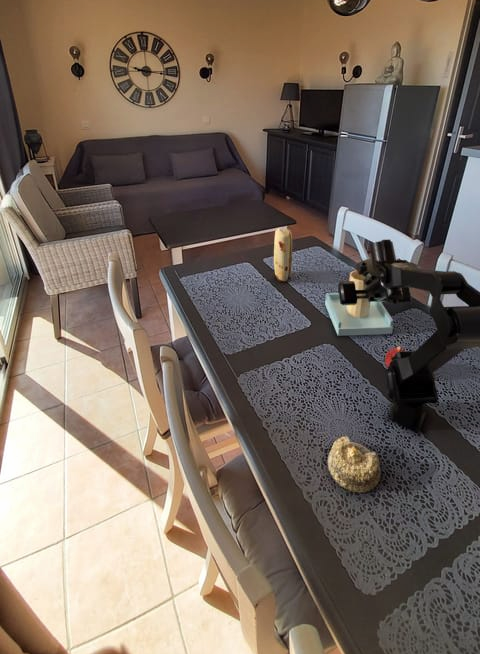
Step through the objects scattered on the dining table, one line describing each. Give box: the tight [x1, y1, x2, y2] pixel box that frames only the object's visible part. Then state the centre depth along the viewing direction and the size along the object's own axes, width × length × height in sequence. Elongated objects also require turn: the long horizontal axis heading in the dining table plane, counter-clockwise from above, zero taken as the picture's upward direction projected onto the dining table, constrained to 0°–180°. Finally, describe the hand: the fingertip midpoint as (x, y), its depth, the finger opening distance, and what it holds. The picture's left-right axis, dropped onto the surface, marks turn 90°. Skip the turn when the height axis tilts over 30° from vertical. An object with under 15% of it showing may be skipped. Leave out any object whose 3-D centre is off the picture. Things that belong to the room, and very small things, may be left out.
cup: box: [346, 269, 370, 318], centre depth 110 cm, size 7×7×13 cm
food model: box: [273, 227, 293, 283], centre depth 134 cm, size 10×7×20 cm
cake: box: [327, 435, 382, 494], centre depth 69 cm, size 10×10×5 cm
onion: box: [384, 345, 405, 369], centre depth 91 cm, size 6×6×8 cm
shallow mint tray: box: [324, 292, 394, 337], centre depth 113 cm, size 16×16×4 cm
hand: (364, 298), depth 105 cm, fingers open, 9 cm apart
